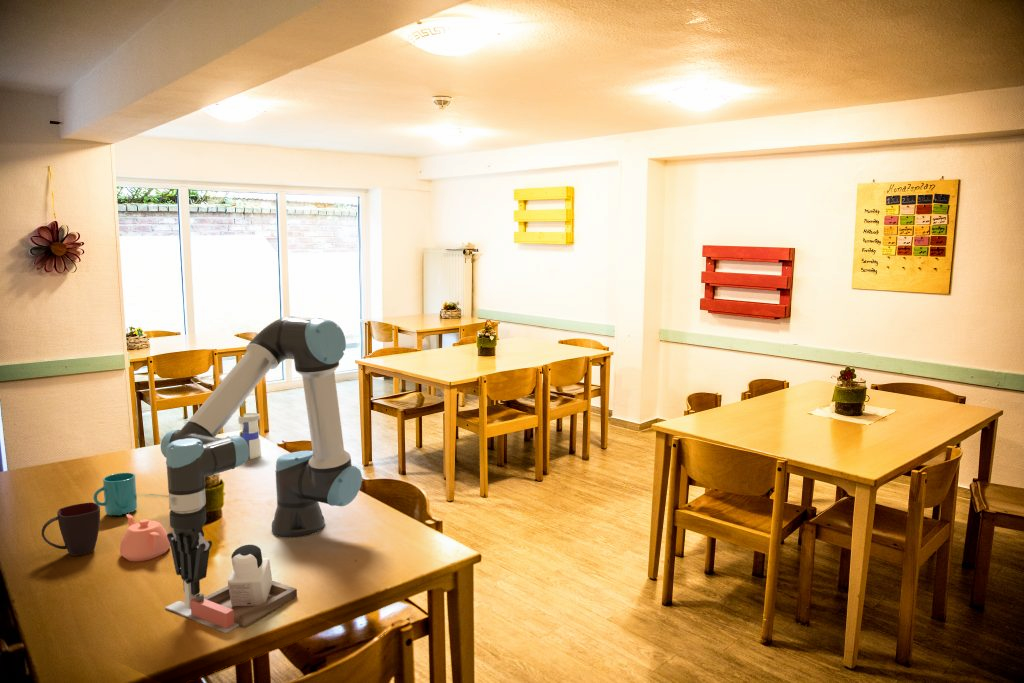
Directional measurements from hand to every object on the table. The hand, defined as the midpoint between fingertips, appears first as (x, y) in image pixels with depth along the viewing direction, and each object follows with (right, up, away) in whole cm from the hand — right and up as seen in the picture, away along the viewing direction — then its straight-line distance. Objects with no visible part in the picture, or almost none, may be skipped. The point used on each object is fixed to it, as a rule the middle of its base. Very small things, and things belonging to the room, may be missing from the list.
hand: (192, 605), depth 163 cm
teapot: (-28, +2, +33) cm, 43 cm away
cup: (-52, +7, +61) cm, 81 cm away
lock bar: (+6, -2, -3) cm, 7 cm away
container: (+12, 0, +6) cm, 13 cm away
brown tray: (+7, -1, +5) cm, 9 cm away
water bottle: (-28, +13, +113) cm, 117 cm away
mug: (-47, +3, +32) cm, 57 cm away
